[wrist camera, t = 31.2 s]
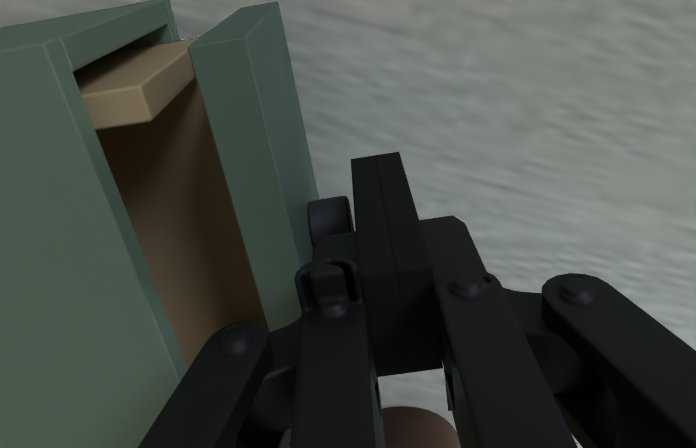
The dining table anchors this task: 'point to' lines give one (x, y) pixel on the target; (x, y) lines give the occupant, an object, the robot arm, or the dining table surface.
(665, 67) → the dining table surface
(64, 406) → the cabinet
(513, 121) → the dining table surface
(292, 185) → the drawer
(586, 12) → the dining table surface
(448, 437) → the pepper mill
